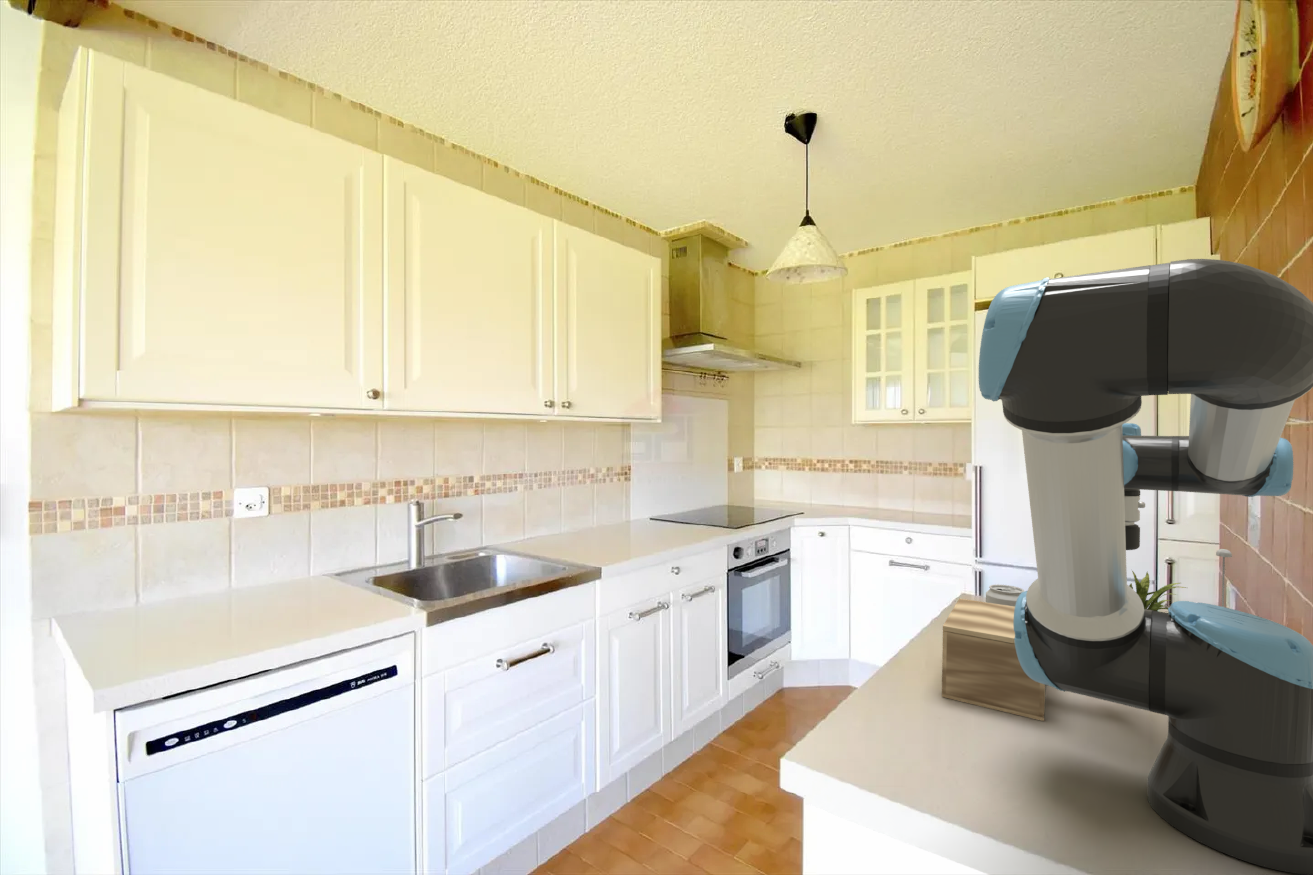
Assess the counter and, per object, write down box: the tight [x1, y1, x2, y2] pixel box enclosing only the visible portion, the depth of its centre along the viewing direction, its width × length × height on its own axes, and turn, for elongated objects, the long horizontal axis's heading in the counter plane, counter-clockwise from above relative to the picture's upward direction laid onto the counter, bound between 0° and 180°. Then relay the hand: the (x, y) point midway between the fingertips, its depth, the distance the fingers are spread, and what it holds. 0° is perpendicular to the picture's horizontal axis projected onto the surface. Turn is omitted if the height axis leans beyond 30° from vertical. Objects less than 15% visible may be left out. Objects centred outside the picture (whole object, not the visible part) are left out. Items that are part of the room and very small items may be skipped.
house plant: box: [1128, 570, 1187, 613], centre depth 116 cm, size 14×14×16 cm
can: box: [985, 584, 1025, 607], centre depth 120 cm, size 8×8×12 cm
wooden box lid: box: [942, 598, 1015, 644], centre depth 98 cm, size 20×24×6 cm
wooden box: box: [941, 630, 1046, 722], centre depth 101 cm, size 20×14×11 cm
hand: (1106, 669), depth 92 cm, fingers open, 3 cm apart
